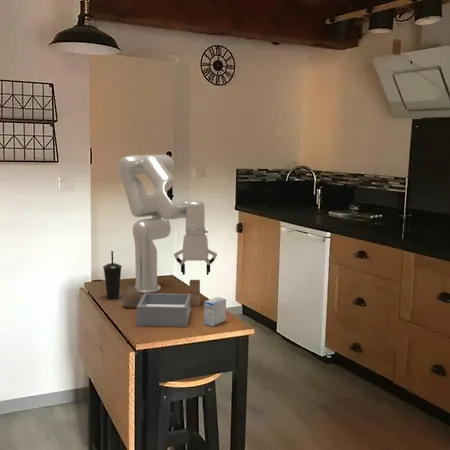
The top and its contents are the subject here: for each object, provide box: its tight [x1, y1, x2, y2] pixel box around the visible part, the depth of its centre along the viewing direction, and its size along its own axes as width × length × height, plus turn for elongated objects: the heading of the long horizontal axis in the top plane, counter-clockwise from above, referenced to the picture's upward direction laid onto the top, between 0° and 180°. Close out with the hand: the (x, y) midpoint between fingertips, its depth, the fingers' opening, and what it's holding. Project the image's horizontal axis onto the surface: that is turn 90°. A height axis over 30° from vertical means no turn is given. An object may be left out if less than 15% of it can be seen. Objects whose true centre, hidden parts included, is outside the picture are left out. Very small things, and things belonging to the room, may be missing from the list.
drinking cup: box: [102, 251, 123, 300], centre depth 237 cm, size 8×8×20 cm
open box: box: [136, 292, 192, 328], centre depth 212 cm, size 18×18×7 cm
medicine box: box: [203, 296, 227, 327], centre depth 207 cm, size 8×4×9 cm, turn 145°
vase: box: [122, 284, 141, 309], centre depth 225 cm, size 7×7×9 cm
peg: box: [188, 279, 201, 307], centre depth 229 cm, size 4×4×10 cm
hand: (195, 274), depth 227 cm, fingers open, 9 cm apart
